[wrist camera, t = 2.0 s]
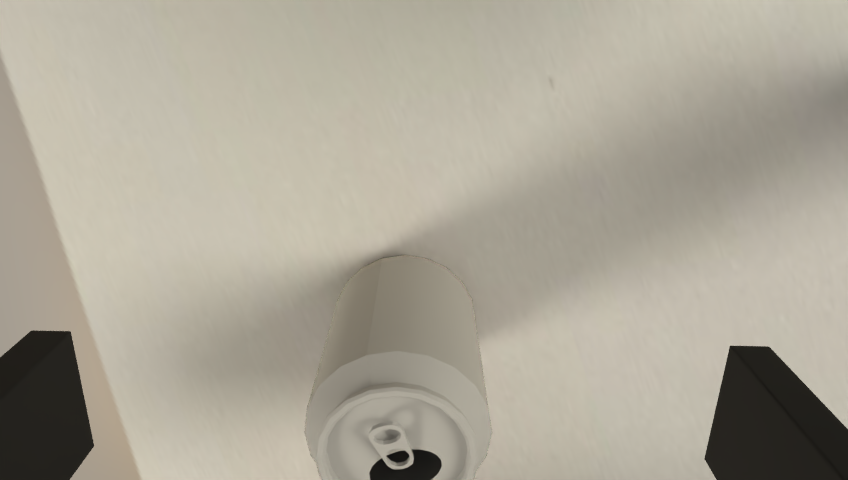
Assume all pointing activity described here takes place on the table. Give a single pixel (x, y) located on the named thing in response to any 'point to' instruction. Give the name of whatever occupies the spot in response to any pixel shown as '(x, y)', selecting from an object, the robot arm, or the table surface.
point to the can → (400, 379)
